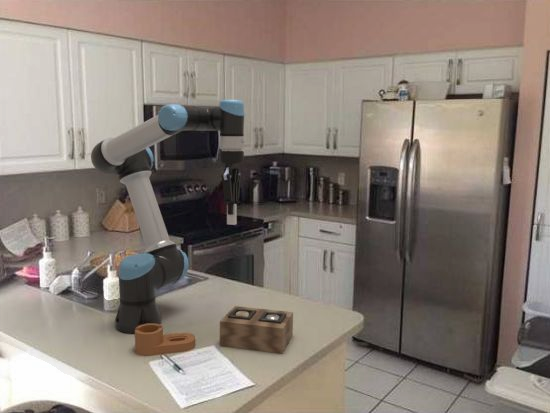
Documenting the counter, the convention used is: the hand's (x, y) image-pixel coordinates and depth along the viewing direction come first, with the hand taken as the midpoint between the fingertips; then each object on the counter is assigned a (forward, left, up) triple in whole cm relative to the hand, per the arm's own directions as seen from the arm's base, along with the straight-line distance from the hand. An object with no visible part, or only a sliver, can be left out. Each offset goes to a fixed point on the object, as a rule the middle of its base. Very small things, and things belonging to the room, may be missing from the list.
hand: (231, 224), depth 160 cm
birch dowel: (+5, -4, -36) cm, 36 cm away
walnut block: (+10, -4, -36) cm, 38 cm away
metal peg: (+15, -4, -36) cm, 39 cm away
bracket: (-15, -17, -37) cm, 43 cm away
